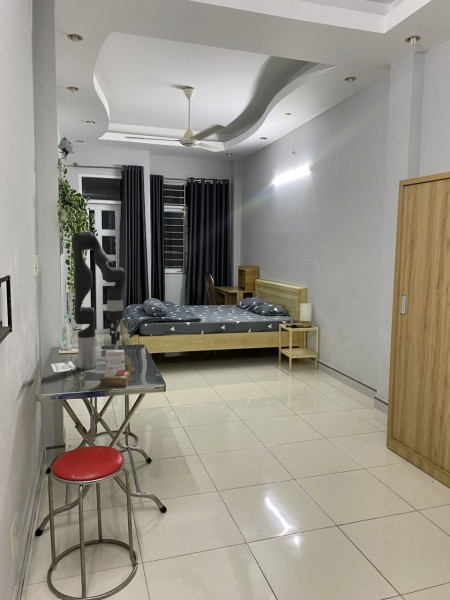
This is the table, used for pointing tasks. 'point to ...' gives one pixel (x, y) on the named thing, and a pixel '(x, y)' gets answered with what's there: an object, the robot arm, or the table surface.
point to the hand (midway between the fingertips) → (115, 342)
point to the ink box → (115, 362)
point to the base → (116, 380)
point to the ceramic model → (128, 365)
